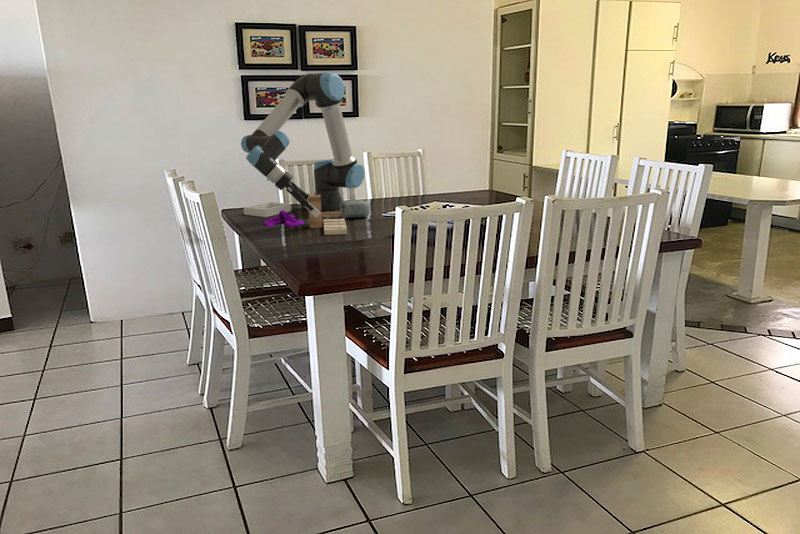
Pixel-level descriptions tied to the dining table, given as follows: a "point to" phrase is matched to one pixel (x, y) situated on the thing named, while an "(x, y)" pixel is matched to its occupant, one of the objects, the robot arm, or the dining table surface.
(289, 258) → the dining table surface
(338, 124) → the robot arm
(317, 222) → the tan angular block
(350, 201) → the spool
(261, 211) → the white shallow tray
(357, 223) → the dining table surface
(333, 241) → the dining table surface
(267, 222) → the cloth
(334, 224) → the board
